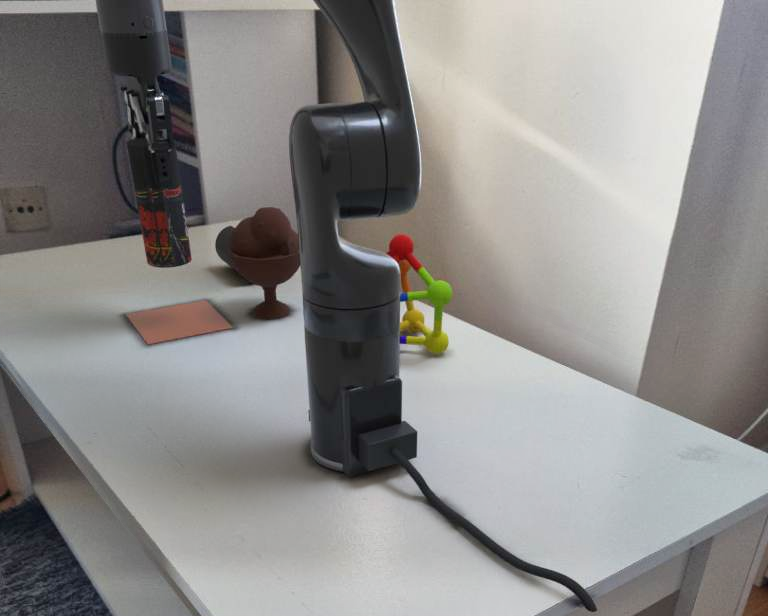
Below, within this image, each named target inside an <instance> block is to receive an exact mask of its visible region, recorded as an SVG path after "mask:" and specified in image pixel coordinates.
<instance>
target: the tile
mask: <svg viewBox="0 0 768 616" xmlns="http://www.w3.org/2000/svg"><path fill="white" fill-rule="evenodd" d="M125 316H126V318H128V320H129V321H130V323H131V324H132V325H133V327H134V328H135V329H136V330H137V332H138V333H139V335H140V336H141V337H142V338H143V340H144V341H145V343H146V344H147V345H148V346H150V345H155V344H159V343H164V342H169V341H170V342H171V341H175V340H180V339H185V338H191V337H196V336H200V335H207V334H210V333H215V332H221V331H226V330H230V329H231V330H232V329H234V327H233V326H232V325H231V324H230V322H228V321H227V320H226V318H225V317H223V315H222V314H221V313H219V312H218V311H217V310H216V309H215V307H213V306H212V305H211V303H210V302H209V301H207V300H206V299H204V300H198V301H193V302H187V303H182V304H176V305H171V306H165V307H160V308H154V309H149V310H142V311H138V312H131V313H126V314H125Z"/></svg>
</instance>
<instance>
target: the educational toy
mask: <svg viewBox="0 0 768 616" xmlns="http://www.w3.org/2000/svg"><path fill="white" fill-rule="evenodd" d="M414 244H415V243H414V241H413V240H412V238H411V237H410V236H408V235H407V234H403V233H401V234H396V235H395V236H393V237H392V238H391V239H390V242H389V244H388V251H386V252H384V253H385V254H387V255H389V256H391V257H392V258H393V259H395V261H396V262H397V263H398V265H399V268H400V274H401V289H402V292H400V303H404V302H405V306H406V312H405V313H403V316H402V318H401V321H400V332H402V331H404V330H406V331H407V332H410V333H416V332H420V333H421V334H422V335H423V336H411V335H400V345H413V346H414V345H416V346H425V348H426V350H427V351H428V352H430V353H432V354H434V355H438V354H439V355H440V354H442V353H444V352H445V351H446V350H447V349H448V347H449V344H450V343H449V342H450V340H449V336H448V334H447V332H445V331H444V330H443V329H442V328H443V314H444V313H443V312H444V311H443V310H444V307H445V306H446V305H448V304H449V303H450V301H451V300H452V297H453V289H452V287H451V285H450V284H449V283H448V282H447V281H445V280H442V279H441V280H434V278H433V277H432V276H431V275H430V274H429V272H428V271H427V270H426V269H425V268H424V266H423V265H422V264H421V262H420V261H419V260H418V258H416V257H415V255H414V254H413V253H414V249H415V246H414ZM411 268H412V269H413V270H414V271H415V273H416V274H417V275H418V276H419V278H420V279H421V280H422V281H423V282H424V284H425V285H426V286H427V290H419V291H412V290H411V287H410V282H409V278H408V274H407V273H408V272H409V271H410V270H411ZM422 300H428V302H429V303H430V304H431V305H432V306H434V310H433V311H434V314H433V329H432V330H430V328H429V327H427V326H426V325H425V320H426V319H425V316H424V313H423V312H422V311H421V310H419V309H417V308H415V305H414V301H422Z"/></svg>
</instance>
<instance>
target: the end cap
mask: <svg viewBox="0 0 768 616" xmlns="http://www.w3.org/2000/svg"><path fill="white" fill-rule="evenodd" d="M235 228H236V227H234V226H232V225H227V226H226V227H224V228H222V229H221V230H220V231H219V232H218V234H217V236H216V238H215V243H214V246H215V247H214V248H215V253H216V254H217V256H218V257H219V259H220V260H221V261H222V262H224V263H225V264H226V265H228V266H229V267H231V268H232V269H234V268H233V266H232V265H231V263H230V261H229V259H228V255H227V252H226V249H227V248H228V247H229V246H230V238H231V235H232V232H233V230H234V229H235Z"/></svg>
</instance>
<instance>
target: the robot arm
mask: <svg viewBox="0 0 768 616" xmlns="http://www.w3.org/2000/svg"><path fill="white" fill-rule="evenodd" d="M163 1H164V0H95V6H96V13H97V19H98V24H99V30H100V36H101V41H102V46H103V51H104V53H103V54H104V57H105V65H106V68H107V71H108V73H109V74H111V75H113V76H116V77H125V79H126V80H125V81H126V83H120V85H119V90H120V92H121V97H122V101H123V107H124V111H125V117H126V122H127V127H128V129H127V130H128V133H129V135H130V136H132V140H133V139H138V138H145V137H146V140H147V144H148V150H149V151H150V157H151V163H152V170H153V176H154V182H155V183H156V184H157V185H158V186H164V185H171V184H172V183H173V176H172V169H171V162H170V156H169V152H171V149H174V146H175V145H176V143H175V144H174V140H175V139H174V131H173V121H172V112H171V99H170V96H168V95H165V94H164V91H163V90H161V89H160V84H159V81H158V76H159V75H166V74H168V73H171V71H172V69H173V68H172V67H173V64H172V59H171V50H170V42H169V36H168V28H167V21H166V15H165V7H164V2H163ZM312 1H313V2H314V4H315V5H316V6H317V8H318V9H319V10H320V12H321V13H322V14H323V15H324V16H325V18H326V19H327V21H328V23H329V24H330V25H331V27H332V28H333V29H334V31H335V32H336V33H337V35H338V37H339V39H340V40H341V42H342V43H343V46H344V47H345V49H346V51H347V53H348V55H349V58H350V60H351V62H352V64H353V68H354V69H355V73H356V75H357V78H358V82H359V86H360V88H361V93H362V96H363V100H364V101H350V102H349V101H348V102H331V103H316V104H315V103H314V104H307V105H303V106H301V107H299V108H298V109H297V110H295V112H294V113H293V116H292V119H291V123H290V126H289V133H288V134H289V135H288V145H289V146H288V150H289V151H288V154H289V165H290V176H291V183H292V190H293V192H292V193H293V199H294V207H295V218H296V227H297V234H298V242H299V255H300V275H301V293H302V309H303V324H304V325H303V328H304V329H303V330H304V345H305V360H306V377H307V392H308V393H307V394H308V409H307V410H308V421H309V424H310V438H311V439H310V453H311V456H312V458H313V459H314V460H315V461H316V462H317V463H318V464H320V465H321V466H323V467H324V468H327V469H330V470H333V471H337V472H342V473H344V474H345V476H346V477H350V478H351V477H354V476H358V475H362V474H365V473H367V472H371V471H376V470H379V469H382V468H385V467H389V466H393V465H396V464H398V465H400V467H401V468H403V470H404V471H405V472H406V473H407V474H408V475H409V476H410V478H411V479H412V480H413V481H414V483H415V484H416V486H417V487H418V489H419V491H420V492H421V494H422V495H423V496H424V497H425V499H427V501H428V502H429V503H430V504H431V505H432V506H434V508H435V509H436V510H437V511H438V512H440V513H441V514H442V515H444V516H445V517H447V518H448V519H449V520H451V521H452V522H453V523H455V524H456V525H458V526H459V527H460V528H462V529H463V530H464V531H466V533H468V534H469V535H470V536H472V537H473V538H474V539H476V540H477V541H478V542H479V543H480V544H481V545H482V546H484V547H485V548H486V549H488V550H489V551H490V552H491V553H493V554H494V555H496V556H497V557H498V558H500V559H501V560H503V561H504V562H505V563H507V564H509V565H510V566H512V567H513V568H515V569H517V570H519V571H522V572H523V573H526V574H529V575H532V576H535V577H538V578H541V579H545V580H549V581H552V582H555V583H557V584H559V585H561V586H563V587H565V588H566V589H567V590H569V591H570V592H571V593H573V594H574V595H575V597H577V599H578V600H579V601H580V602H581V604H582V606H583V607H584V609H586V610H587V611H588V612H591V613H596V612H597V611H598V607H597V605H596V604H595V602H594V600H593V599H592V596H590V594H589V593H588V592H587V590H586V589H585V588H584V587H583V586H582V585H581V584H580V583H579V582H578V581H576V580H574V578H571V577H570V576H568V575H566V574H563V573H561V572H558V571H556V570H552V569H549V568H546V567H542V566H539V565H535V564H532V563H530V562H527V561H525V560H524V559H521V558H520V557H518V556H516V555H515V554H513V553H511V552H510V551H508V550H507V549H505V548H504V547H502V546H501V545H500V544H499V543H497V542H496V541H495V540H494V539H492V538H491V537H490V536H488V535H487V533H485V532H483V531H482V530H481V529H480V528H478V527H477V526H476V525H475V524H473V523H472V522H471V521H470V520H468V519H467V518H465V517H464V516H463V515H461V514H459V513H458V512H457V511H455V510H454V509H452V508H451V507H450V506H449V505H448V504H446V503H445V502H444V501H442V500H441V499H440V497H438V495H436V493H434V491H433V490H432V489H431V488H430V486H429V485H428V483H427V481H426V480H425V478H424V477H423V475H422V474H421V473H420V472H419V471H418V469H417V468H416V467H415V466H414V465H413V463H412V462H410V461H409V460H412V459H413V460H414V459H416V458H417V457H418V431H417V429H415V428H414V427H413V426H412V425H411V424H410V423H408V422H407V421H406V420H403V380H402V379H401V378H400V350H401V349H400V347H401V346H400V345H401V344H400V336H401V335H400V334H401V331H400V323H401V302H400V293H401V292H402V291H401V289H402V286H401V274H400V268H399V265H398V263H397V262H396V261H395V259H393V258H392V257H391V256H389V255H387V254H385V253H386V252H383V251H381V250H377V249H374V248H370V247H368V246H365V245H364V246H363V245H360V244H357V243H354V242H351V241H349V240H347V239H345V238H343V237H342V236H341V235H340V233H339V228H338V224H339V222H343V221H353V220H364V219H377V218H387V217H395V216H402V215H406V214H407V213H409V212H411V211H412V210H413V209H414V207H416V204H417V202H418V200H419V196H420V192H421V187H422V155H421V154H422V153H421V145H420V137H419V132H418V131H419V130H418V125H417V119H416V114H415V109H414V103H413V98H412V93H411V88H410V87H411V86H410V83H409V76H408V73H407V67H406V61H405V56H404V50H403V45H402V40H401V36H400V29H399V23H398V17H397V12H396V11H397V9H396V4H395V0H312ZM158 134H159V135H161V137H162V139H157V137H158Z"/></svg>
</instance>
